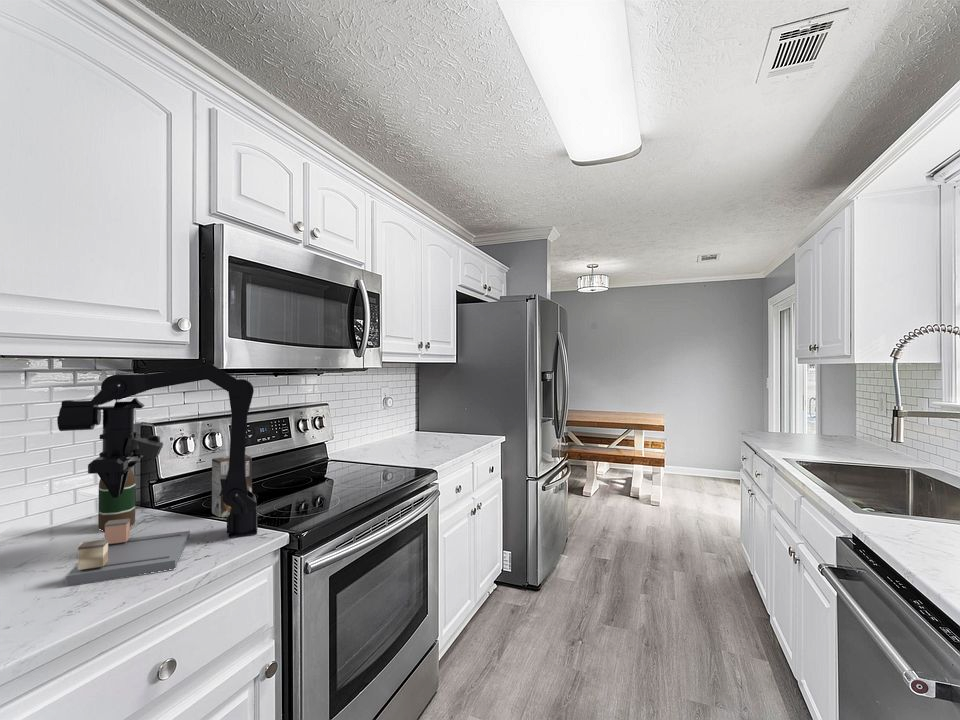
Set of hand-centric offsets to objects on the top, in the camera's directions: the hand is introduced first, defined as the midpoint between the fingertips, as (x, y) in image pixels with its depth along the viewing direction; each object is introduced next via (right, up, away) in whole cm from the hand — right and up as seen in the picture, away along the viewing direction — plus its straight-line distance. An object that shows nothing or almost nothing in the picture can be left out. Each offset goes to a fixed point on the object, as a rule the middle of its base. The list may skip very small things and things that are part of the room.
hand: (117, 495), depth 107 cm
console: (+7, -13, -4) cm, 16 cm away
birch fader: (+5, -10, -13) cm, 17 cm away
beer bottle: (-13, -13, +16) cm, 25 cm away
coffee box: (+11, -14, +29) cm, 34 cm away
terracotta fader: (0, -11, 0) cm, 11 cm away
